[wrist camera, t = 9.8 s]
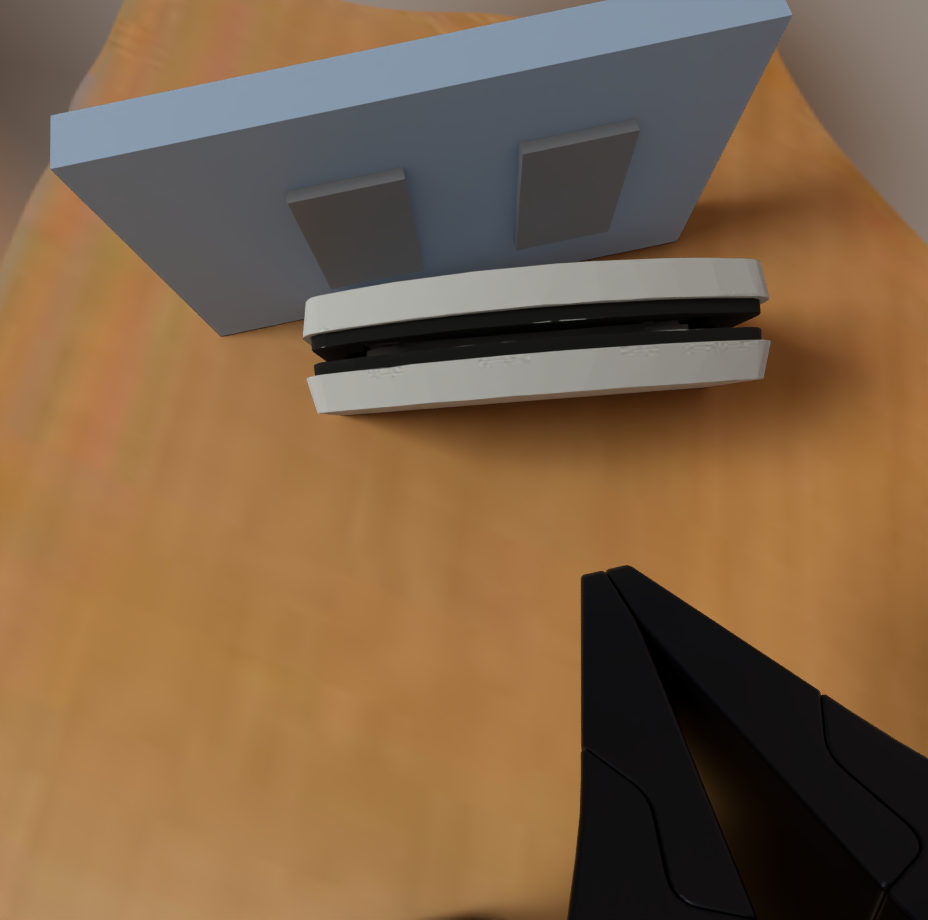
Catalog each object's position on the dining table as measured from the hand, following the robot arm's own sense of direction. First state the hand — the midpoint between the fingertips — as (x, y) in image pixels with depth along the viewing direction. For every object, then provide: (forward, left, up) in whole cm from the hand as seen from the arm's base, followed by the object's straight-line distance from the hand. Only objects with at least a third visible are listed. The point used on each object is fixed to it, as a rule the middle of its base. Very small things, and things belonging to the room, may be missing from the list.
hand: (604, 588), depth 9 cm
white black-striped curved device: (+9, -1, -13) cm, 16 cm away
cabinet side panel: (+16, +1, -13) cm, 20 cm away
